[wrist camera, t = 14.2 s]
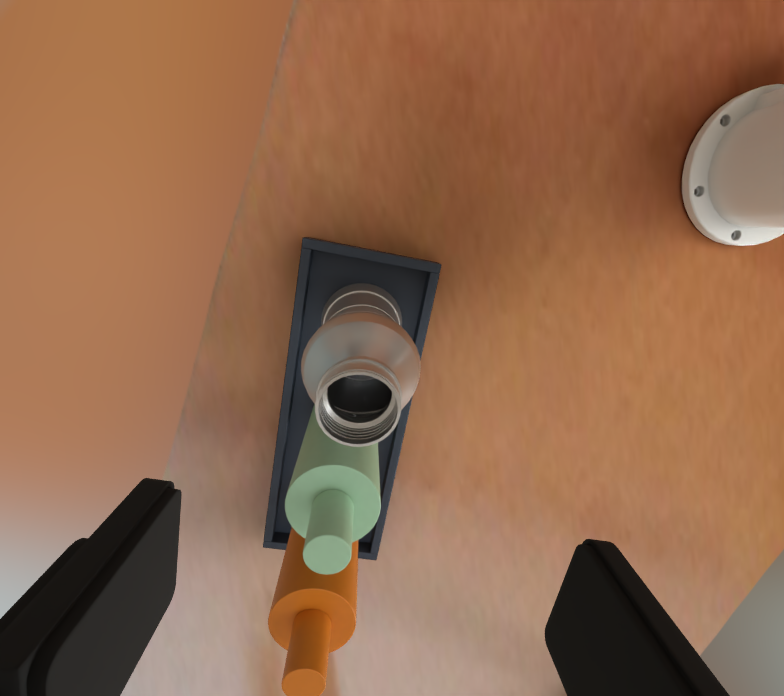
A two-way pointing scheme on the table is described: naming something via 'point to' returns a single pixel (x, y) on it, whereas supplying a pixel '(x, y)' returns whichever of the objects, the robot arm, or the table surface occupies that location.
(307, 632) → the amber bottle
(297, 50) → the table surface
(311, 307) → the tray
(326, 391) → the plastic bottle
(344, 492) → the sage bottle
